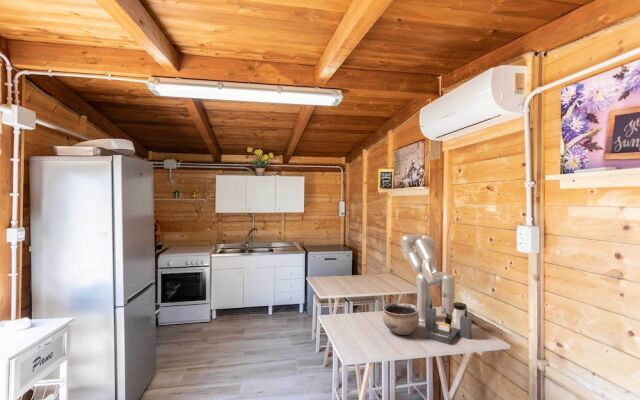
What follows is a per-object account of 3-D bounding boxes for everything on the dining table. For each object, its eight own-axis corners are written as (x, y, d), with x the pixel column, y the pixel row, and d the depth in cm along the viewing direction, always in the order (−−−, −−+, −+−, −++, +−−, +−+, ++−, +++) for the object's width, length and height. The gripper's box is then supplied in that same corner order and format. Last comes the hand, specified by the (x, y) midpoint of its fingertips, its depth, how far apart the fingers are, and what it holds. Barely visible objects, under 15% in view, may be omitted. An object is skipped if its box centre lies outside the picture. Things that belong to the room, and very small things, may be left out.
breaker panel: (425, 337, 187) (425, 332, 187) (436, 328, 201) (436, 323, 201) (450, 344, 178) (450, 339, 178) (460, 334, 192) (460, 329, 192)
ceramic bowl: (421, 341, 182) (421, 315, 182) (382, 338, 186) (382, 312, 186) (417, 326, 204) (417, 303, 204) (382, 323, 208) (382, 300, 208)
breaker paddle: (438, 329, 192) (438, 323, 192) (440, 327, 194) (440, 322, 194) (448, 331, 188) (448, 325, 188) (450, 330, 190) (450, 324, 190)
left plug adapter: (425, 327, 202) (425, 300, 202) (428, 325, 206) (428, 298, 206) (433, 329, 199) (433, 302, 199) (436, 327, 203) (436, 300, 203)
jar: (452, 323, 209) (452, 305, 209) (452, 319, 216) (452, 301, 216) (467, 325, 205) (467, 307, 205) (466, 321, 213) (466, 303, 213)
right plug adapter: (459, 336, 188) (460, 307, 188) (462, 334, 192) (462, 305, 192) (468, 339, 185) (469, 309, 185) (471, 336, 189) (471, 307, 189)
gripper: (446, 291, 204) (446, 319, 204) (437, 296, 193) (437, 327, 193) (458, 293, 199) (458, 322, 199) (450, 299, 188) (450, 330, 188)
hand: (448, 324), depth 196 cm, fingers closed
